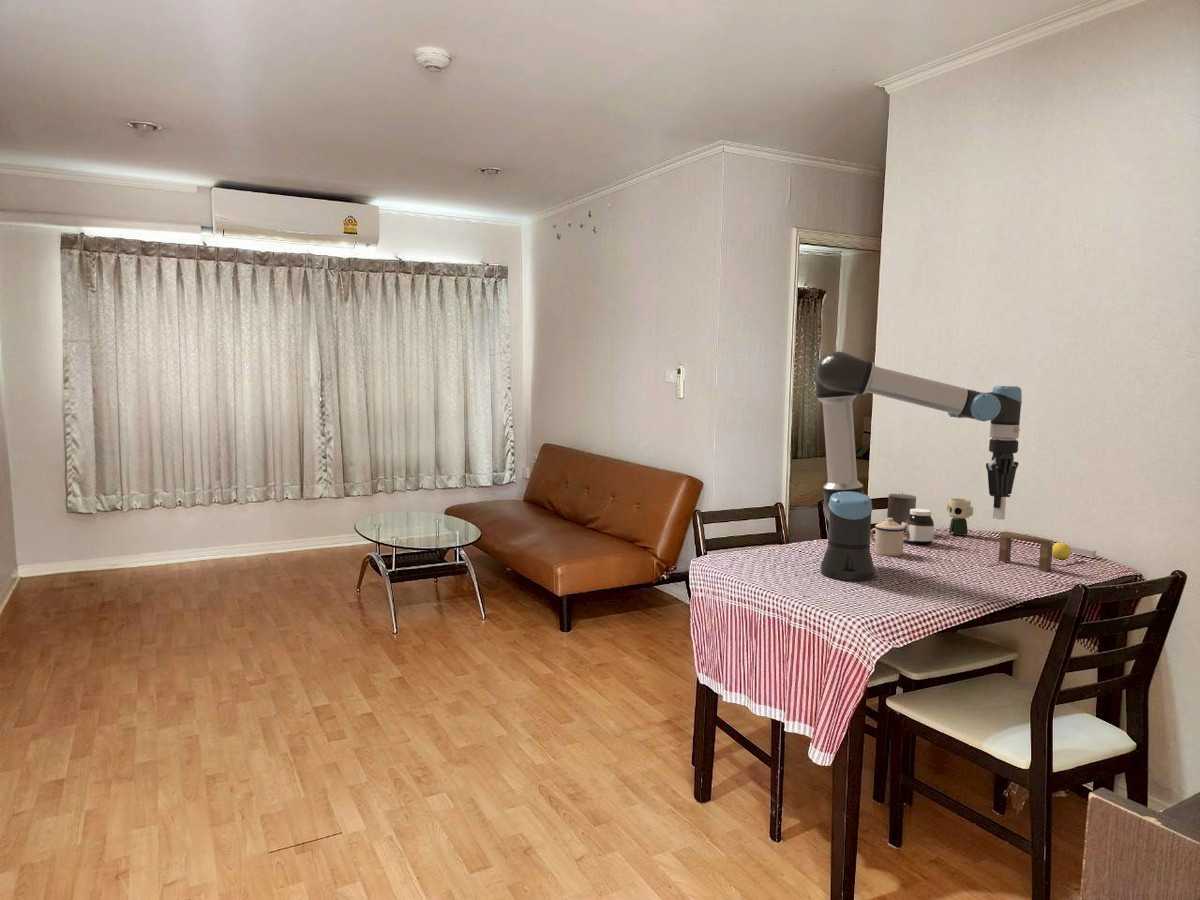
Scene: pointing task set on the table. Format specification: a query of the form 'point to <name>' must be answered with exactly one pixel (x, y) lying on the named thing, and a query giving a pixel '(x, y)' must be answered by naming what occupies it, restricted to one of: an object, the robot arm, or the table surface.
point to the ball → (1061, 551)
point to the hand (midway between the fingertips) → (998, 518)
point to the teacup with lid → (888, 538)
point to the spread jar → (919, 527)
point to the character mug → (959, 515)
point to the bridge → (1045, 544)
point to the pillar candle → (900, 507)
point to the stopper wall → (1083, 551)
